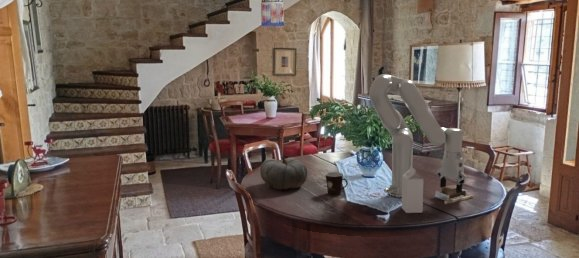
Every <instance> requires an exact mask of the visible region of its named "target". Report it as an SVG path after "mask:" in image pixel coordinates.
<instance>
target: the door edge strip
mask: <svg viewBox="0 0 579 258" xmlns="http://www.w3.org/2000/svg"><path fill="white" fill-rule="evenodd" d="M473 198H474V195H472V194H470V195H467V196H465V197H461V198H457V199H452V200H448V201H445V200H443V201H444V202H443V204H444V205H447V204H452V203H456V202H462V201H464V200H465V201H466V200H469V199H473Z"/></svg>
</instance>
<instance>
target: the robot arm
mask: <svg viewBox="0 0 579 258" xmlns="http://www.w3.org/2000/svg"><path fill="white" fill-rule="evenodd" d="M388 93H390V94H393V95H396V96H399V97H400V98H401V100H402V101H403V102H404V104H405V106H406V107H407V109H408V110H409V112H410V114H411V115H412V116H413V119H414V120H415V121H416V123H417V124H418V126H419V127H420V129H421V130H422V132H423V133H424V135H425V137H426V138H427V139H428V141H429V142H430V144H431V145H433V146H437V147H440V146H442V145H444V152H443V153H444V154H443V156H442V161H441V167H439V168H436V171H437V175H438V178H439V179H440V183H439V187H440V188H441V189H442V188H443V187H447V178H448V179H451V180H455V182H456V183H457V184H455V185H456V193H460V192H462V189H463V185H464V184H465V183H466V182H467V180H468V179H469V177H468V176H467V174H465V169H464V168H465V165H464V159H463V155H464V154H463V153H462V148H463V147H462V146H463V130H462V129H461V128H456V127H450V128H449V127H448V128H447V127H441V125H440V124H439V123H438V121H437V119H436V117H435V116H434V114H433V112H432V110H431V107H430V105H429V104H428V103H427V101H426V100H425V98H424V97H423V95H422V93H421V91H420V90H419V89H418V87H417V86H416V84H415V82H414V81H412V80H411V79H406V78H402V77H397V76H394V75H390V74H387V73H382V74H379V75H378V76H376V77H375V78H374V79H373V81H372V83H371V84H370V87H369V91H368V96H369V97H368V98H369V101H370V103H371V105H372V107H373V108H374V110H375V113H376V115H377V116H378V118H379V120H380V121H381V124H382V126H383V127H384V128H385V129H386V130H387V131H388V133H389V135H390V136H391V138H392V142H391V144H392V145H391V148H392V149H391V150H392V152H391V153H392V155H391V158H392V159H391V184H390V185H389V187H388V188H386V187H385V188H383V192H384V193H388V195H389V194H390V196H391V195H392V196H391V197H394V196H396V197H395V198H400V197H402V176H403V174H405V173H406V172H407V171H408V170H409V169H410V166H411V167H412V168H413V153H414V152H413V151H414V136H413V133H412V131H411V129H410V127H409V126H408V124H407V123H406V121H405V119H404V117H403V115H402V114H401V113H400V112H399V111H398V110H397V109H396V108H395V106H394V104H393V102H392V101H391V100H390V98H389V95H388Z"/></svg>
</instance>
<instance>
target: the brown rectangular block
mask: <svg viewBox="0 0 579 258" xmlns="http://www.w3.org/2000/svg"><path fill="white" fill-rule="evenodd" d="M456 185H457V184H453V185H448V186H447V185H446V187H442V188H441V191H440V192H442V193H445V194H448V195H449V198H454V197H458V196H461V192H460V193H456Z"/></svg>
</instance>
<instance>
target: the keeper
mask: <svg viewBox="0 0 579 258" xmlns="http://www.w3.org/2000/svg"><path fill="white" fill-rule="evenodd" d="M434 196H435V198H436V199H440V200H443V201H448V200H452V199H457V198H461V197H465V196H468V190H466V189H463V188H462V192H461V196H458V197H454V198H449V195H448V194H445V193H442V192H441V191H439V190H435V195H434Z"/></svg>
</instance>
